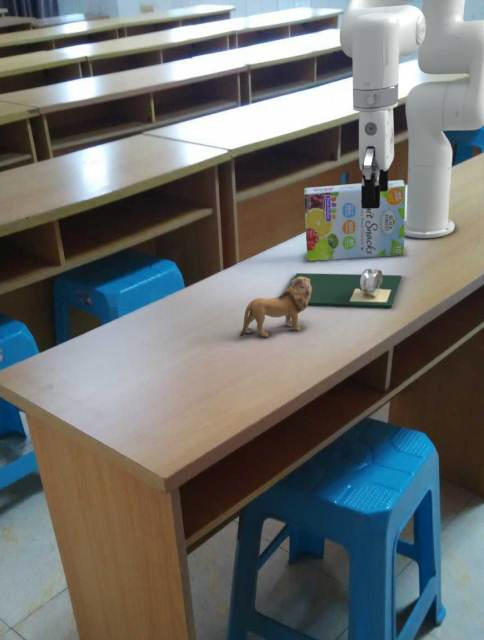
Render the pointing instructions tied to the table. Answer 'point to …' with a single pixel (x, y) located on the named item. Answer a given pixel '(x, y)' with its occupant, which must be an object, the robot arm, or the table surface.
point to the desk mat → (349, 290)
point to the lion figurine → (279, 306)
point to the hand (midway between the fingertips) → (375, 199)
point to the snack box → (353, 222)
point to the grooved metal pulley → (371, 282)
